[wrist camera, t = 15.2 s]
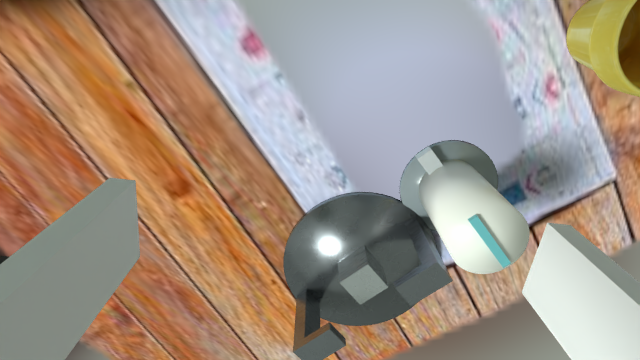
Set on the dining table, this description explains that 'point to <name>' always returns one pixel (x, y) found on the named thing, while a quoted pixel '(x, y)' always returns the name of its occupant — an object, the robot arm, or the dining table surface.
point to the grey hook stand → (357, 267)
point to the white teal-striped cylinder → (471, 215)
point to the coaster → (443, 152)
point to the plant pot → (608, 42)
